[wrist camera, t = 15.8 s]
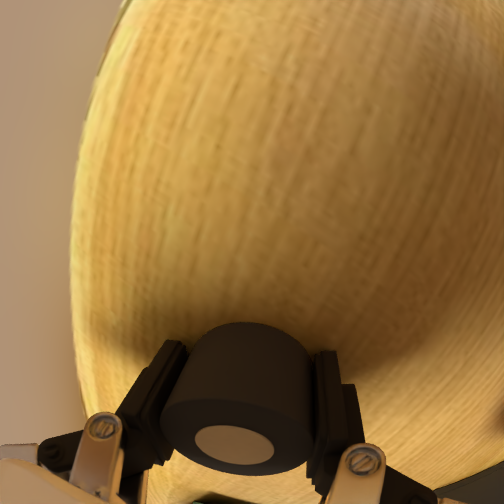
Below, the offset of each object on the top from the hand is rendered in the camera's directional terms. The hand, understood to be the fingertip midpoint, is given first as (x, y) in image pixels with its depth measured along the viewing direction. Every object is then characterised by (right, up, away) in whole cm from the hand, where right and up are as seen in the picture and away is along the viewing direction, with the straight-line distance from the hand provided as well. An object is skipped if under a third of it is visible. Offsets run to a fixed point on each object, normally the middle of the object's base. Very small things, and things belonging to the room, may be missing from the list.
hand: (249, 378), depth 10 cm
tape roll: (0, 0, 0) cm, 0 cm away
